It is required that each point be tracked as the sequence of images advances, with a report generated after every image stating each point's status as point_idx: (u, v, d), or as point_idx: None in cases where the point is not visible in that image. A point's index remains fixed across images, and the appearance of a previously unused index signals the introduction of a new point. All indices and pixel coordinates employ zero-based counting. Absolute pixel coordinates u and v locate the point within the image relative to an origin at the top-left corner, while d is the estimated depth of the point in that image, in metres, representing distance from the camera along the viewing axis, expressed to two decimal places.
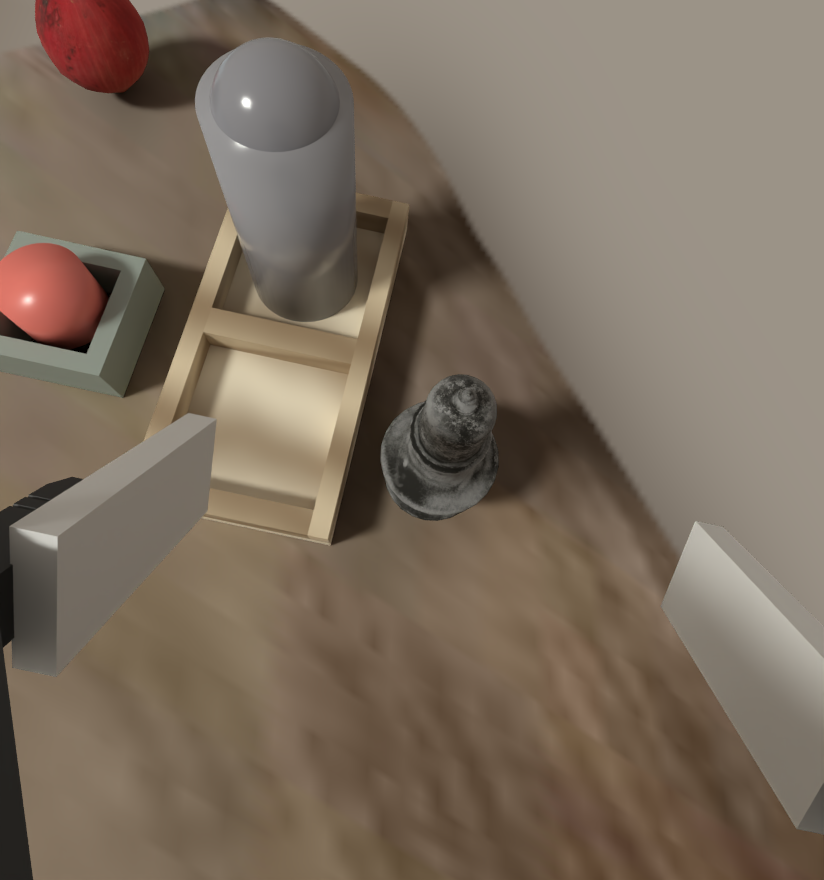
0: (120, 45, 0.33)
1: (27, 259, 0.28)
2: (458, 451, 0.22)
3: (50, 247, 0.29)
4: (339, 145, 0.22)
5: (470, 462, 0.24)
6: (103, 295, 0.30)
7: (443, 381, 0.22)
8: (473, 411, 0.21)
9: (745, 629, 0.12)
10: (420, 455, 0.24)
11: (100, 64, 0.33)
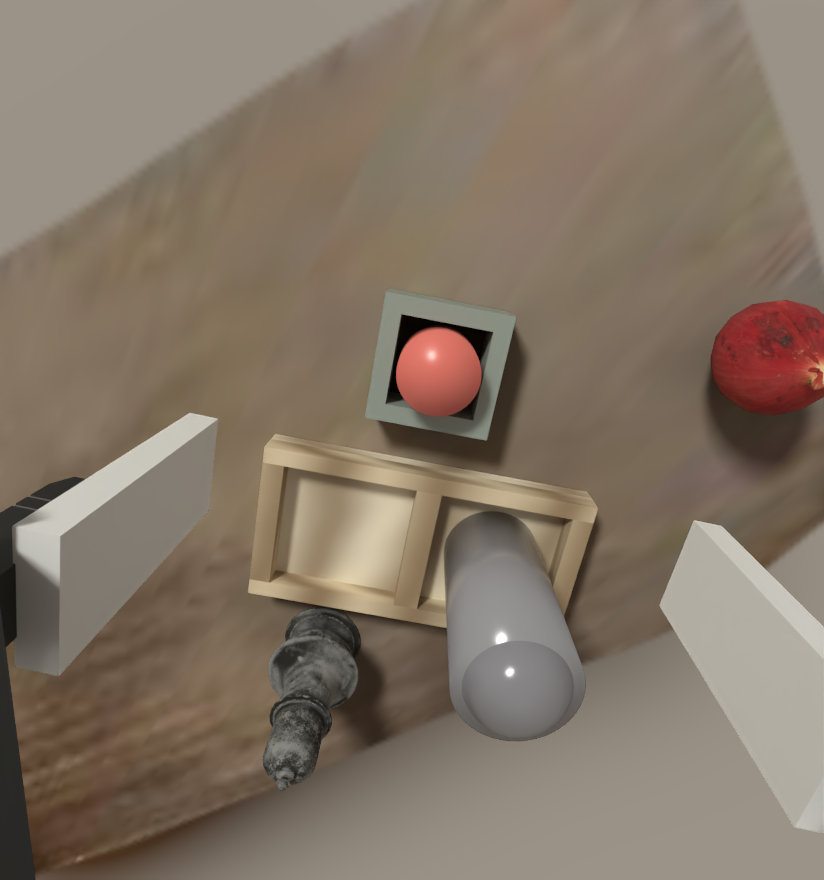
0: (741, 402, 0.30)
1: (462, 361, 0.29)
2: None
3: (476, 379, 0.30)
4: None
5: None
6: None
7: (305, 756, 0.30)
8: (278, 778, 0.30)
9: (743, 629, 0.12)
10: (280, 701, 0.33)
11: (721, 377, 0.30)
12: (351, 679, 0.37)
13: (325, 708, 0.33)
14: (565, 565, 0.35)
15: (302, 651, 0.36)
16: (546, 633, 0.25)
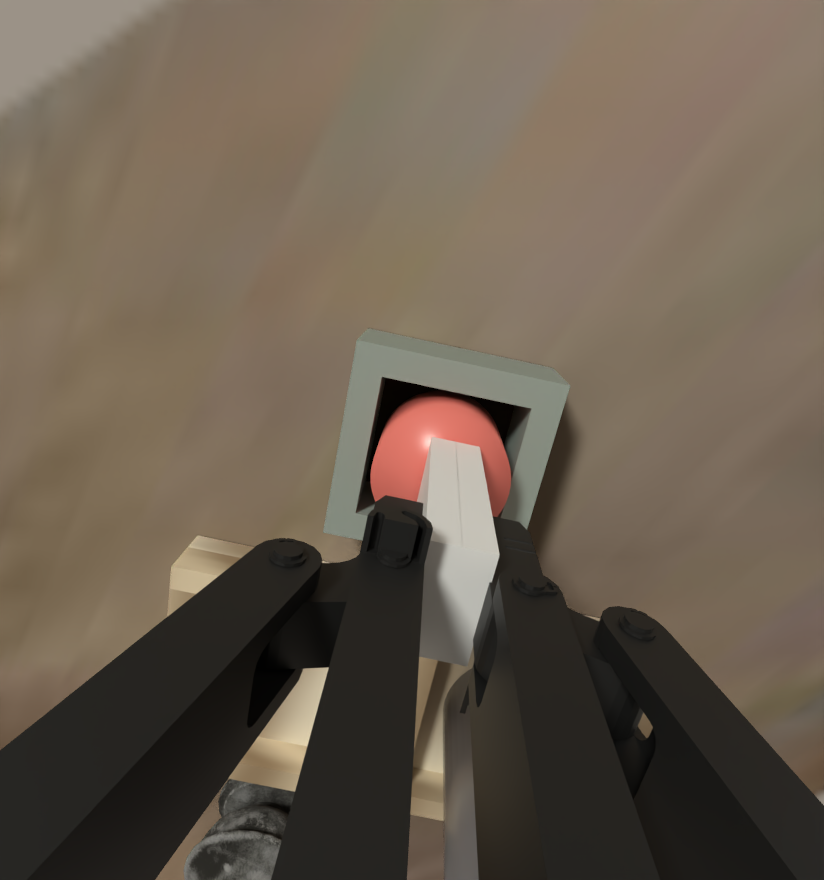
0: None
1: None
2: None
3: (502, 489, 0.18)
4: None
5: None
6: None
7: None
8: None
9: None
10: None
11: None
12: None
13: None
14: None
15: (231, 856, 0.24)
16: None
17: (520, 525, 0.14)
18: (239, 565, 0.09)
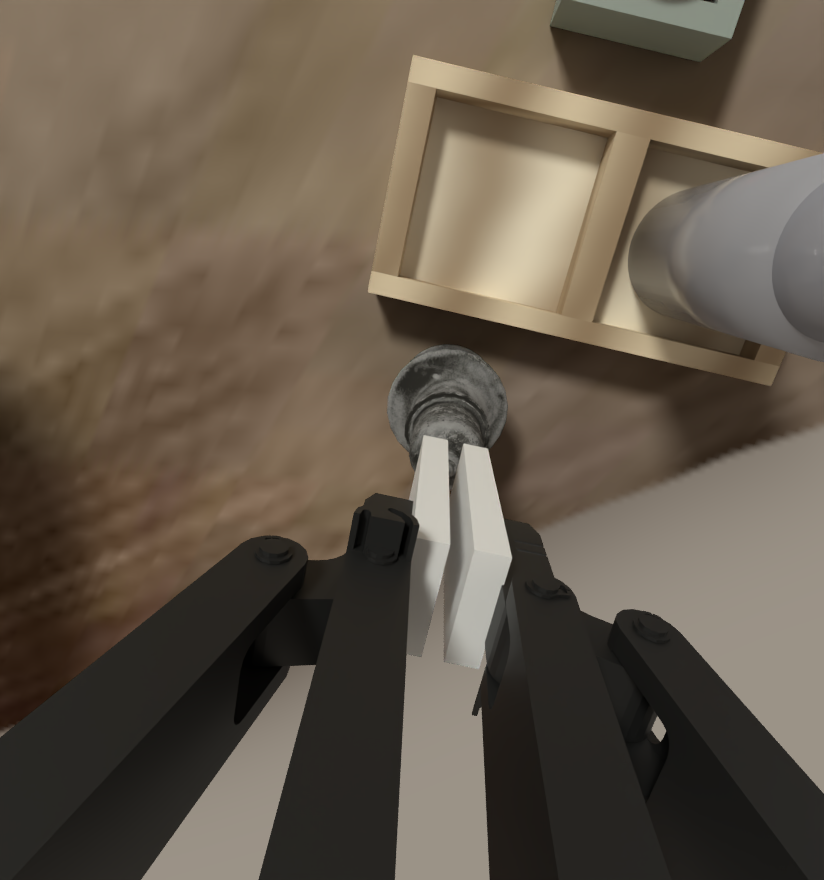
0: None
1: None
2: None
3: None
4: (777, 343, 0.17)
5: None
6: None
7: (474, 441, 0.21)
8: None
9: (459, 520, 0.14)
10: (422, 401, 0.24)
11: None
12: (498, 416, 0.28)
13: (483, 414, 0.24)
14: None
15: (438, 368, 0.27)
16: None
17: (529, 527, 0.14)
18: (224, 563, 0.09)
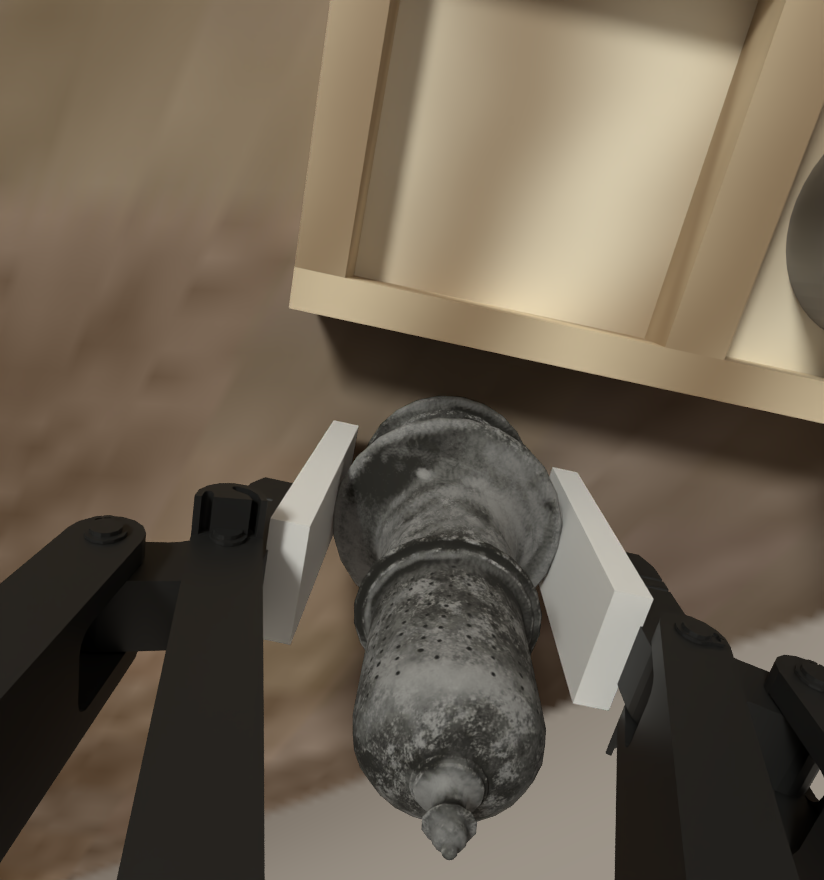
0: None
1: None
2: None
3: None
4: None
5: None
6: None
7: (522, 719, 0.08)
8: (419, 802, 0.08)
9: (566, 551, 0.14)
10: (390, 557, 0.11)
11: None
12: (544, 542, 0.15)
13: (528, 582, 0.11)
14: None
15: (428, 457, 0.14)
16: None
17: (640, 558, 0.14)
18: (49, 549, 0.09)
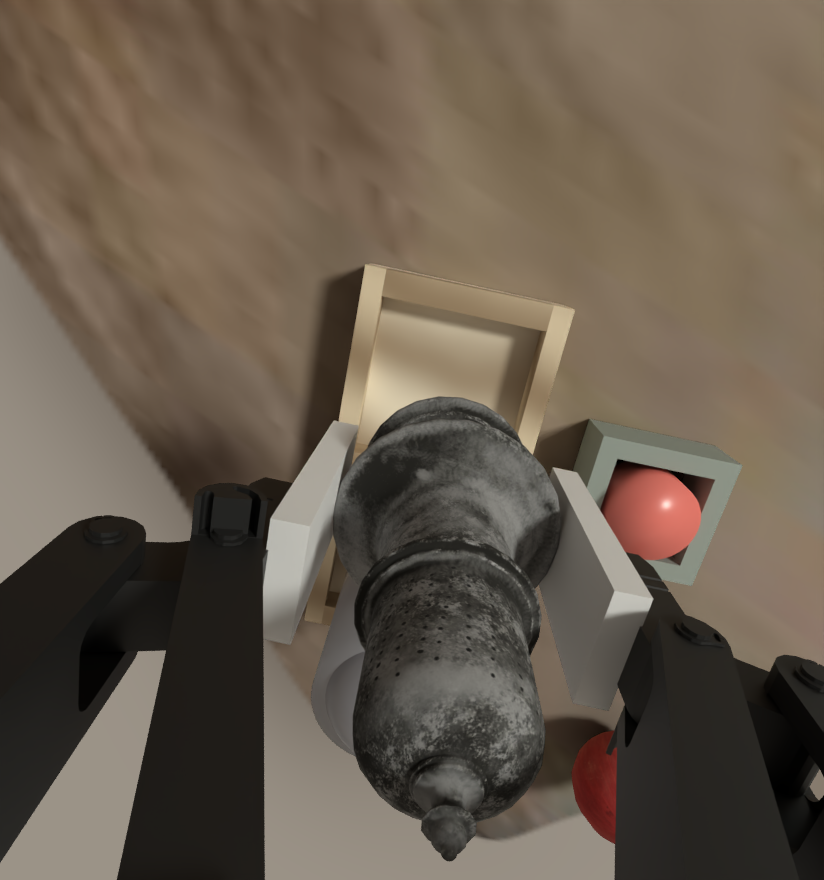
0: (594, 774, 0.33)
1: (666, 543, 0.29)
2: None
3: (644, 555, 0.29)
4: (324, 657, 0.21)
5: None
6: None
7: (521, 720, 0.08)
8: (419, 803, 0.08)
9: (566, 551, 0.14)
10: (390, 558, 0.11)
11: (614, 755, 0.33)
12: (544, 542, 0.15)
13: (528, 583, 0.11)
14: None
15: (428, 458, 0.14)
16: None
17: (640, 558, 0.14)
18: (49, 549, 0.09)
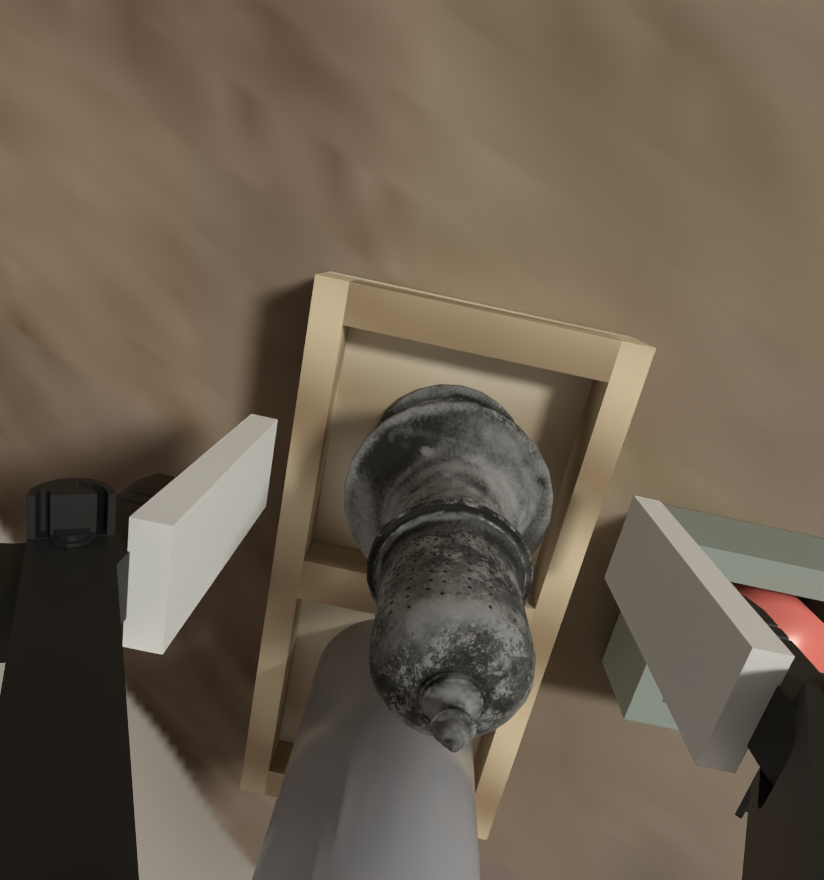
0: None
1: None
2: None
3: None
4: None
5: None
6: None
7: (515, 644, 0.09)
8: (428, 715, 0.09)
9: (667, 592, 0.13)
10: (399, 519, 0.12)
11: None
12: (537, 515, 0.16)
13: (522, 541, 0.12)
14: None
15: (431, 436, 0.15)
16: None
17: (746, 599, 0.13)
18: None
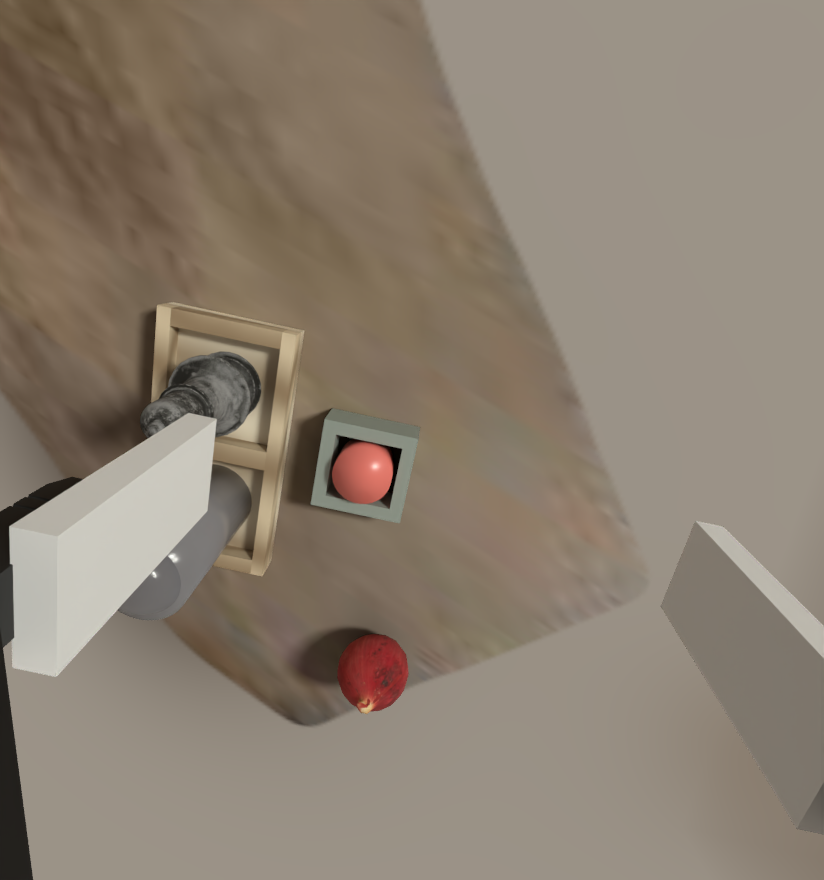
0: (345, 659, 0.47)
1: (371, 491, 0.43)
2: None
3: (359, 500, 0.43)
4: None
5: None
6: None
7: (176, 413, 0.33)
8: None
9: (746, 630, 0.12)
10: (165, 390, 0.36)
11: (360, 646, 0.47)
12: (243, 400, 0.40)
13: (206, 397, 0.36)
14: None
15: (196, 368, 0.39)
16: (187, 594, 0.36)
17: None
18: None
